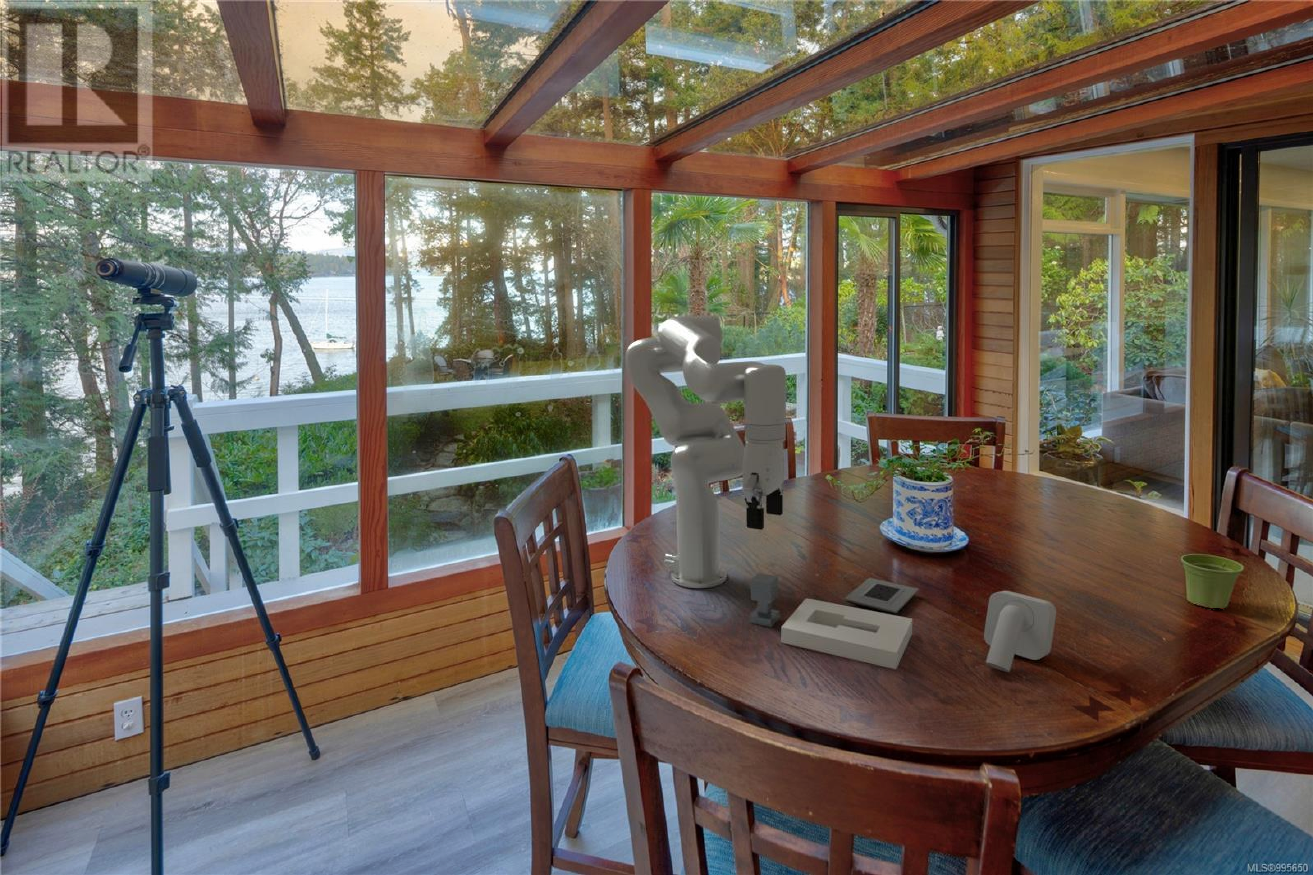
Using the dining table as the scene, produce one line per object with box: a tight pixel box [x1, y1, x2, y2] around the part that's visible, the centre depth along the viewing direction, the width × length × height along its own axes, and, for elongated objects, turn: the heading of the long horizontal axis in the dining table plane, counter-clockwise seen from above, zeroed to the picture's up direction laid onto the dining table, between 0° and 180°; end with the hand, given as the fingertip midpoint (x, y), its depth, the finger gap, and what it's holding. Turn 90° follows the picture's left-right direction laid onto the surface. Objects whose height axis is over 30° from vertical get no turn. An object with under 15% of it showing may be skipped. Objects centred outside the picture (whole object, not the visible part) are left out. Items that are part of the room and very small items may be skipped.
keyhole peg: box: [749, 572, 780, 628], centre depth 128 cm, size 4×4×9 cm
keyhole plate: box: [780, 597, 913, 670], centre depth 121 cm, size 20×14×3 cm
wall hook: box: [983, 590, 1057, 673], centre depth 111 cm, size 10×12×12 cm
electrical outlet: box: [843, 577, 920, 615], centre depth 136 cm, size 13×10×2 cm
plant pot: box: [1180, 553, 1245, 608], centre depth 129 cm, size 9×9×9 cm
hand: (765, 521), depth 125 cm, fingers open, 9 cm apart
